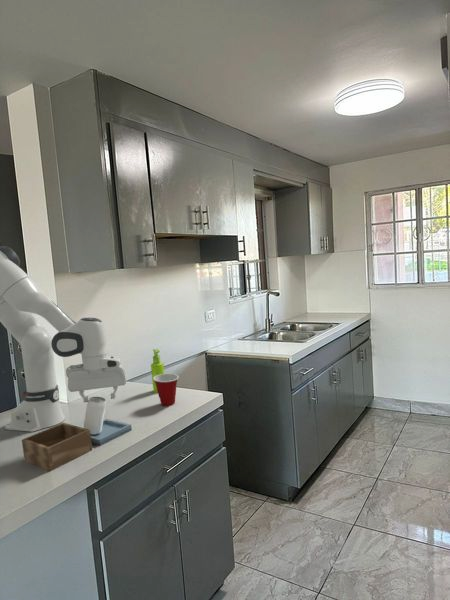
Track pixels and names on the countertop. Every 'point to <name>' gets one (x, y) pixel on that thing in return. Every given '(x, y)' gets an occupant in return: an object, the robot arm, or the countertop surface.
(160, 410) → the countertop surface
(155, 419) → the countertop surface
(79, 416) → the countertop surface
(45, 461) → the walnut sleeve
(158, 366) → the soap dispenser
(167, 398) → the plastic cup
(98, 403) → the can
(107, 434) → the tray
